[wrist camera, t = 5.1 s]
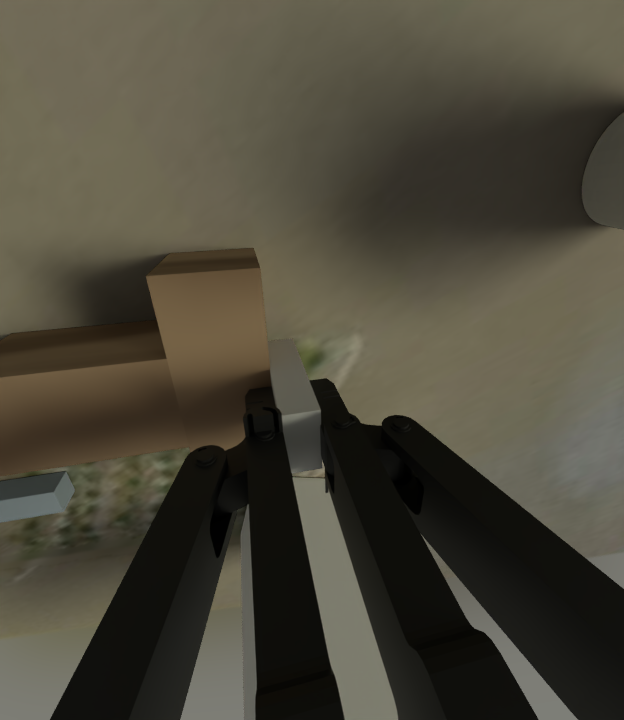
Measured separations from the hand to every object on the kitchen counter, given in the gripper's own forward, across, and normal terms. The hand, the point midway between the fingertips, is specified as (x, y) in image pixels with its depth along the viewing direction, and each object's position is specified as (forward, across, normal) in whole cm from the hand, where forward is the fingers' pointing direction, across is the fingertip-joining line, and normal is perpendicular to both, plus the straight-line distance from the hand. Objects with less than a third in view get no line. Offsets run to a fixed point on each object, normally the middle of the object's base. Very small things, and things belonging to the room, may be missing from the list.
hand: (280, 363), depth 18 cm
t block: (+2, -7, 0) cm, 7 cm away
